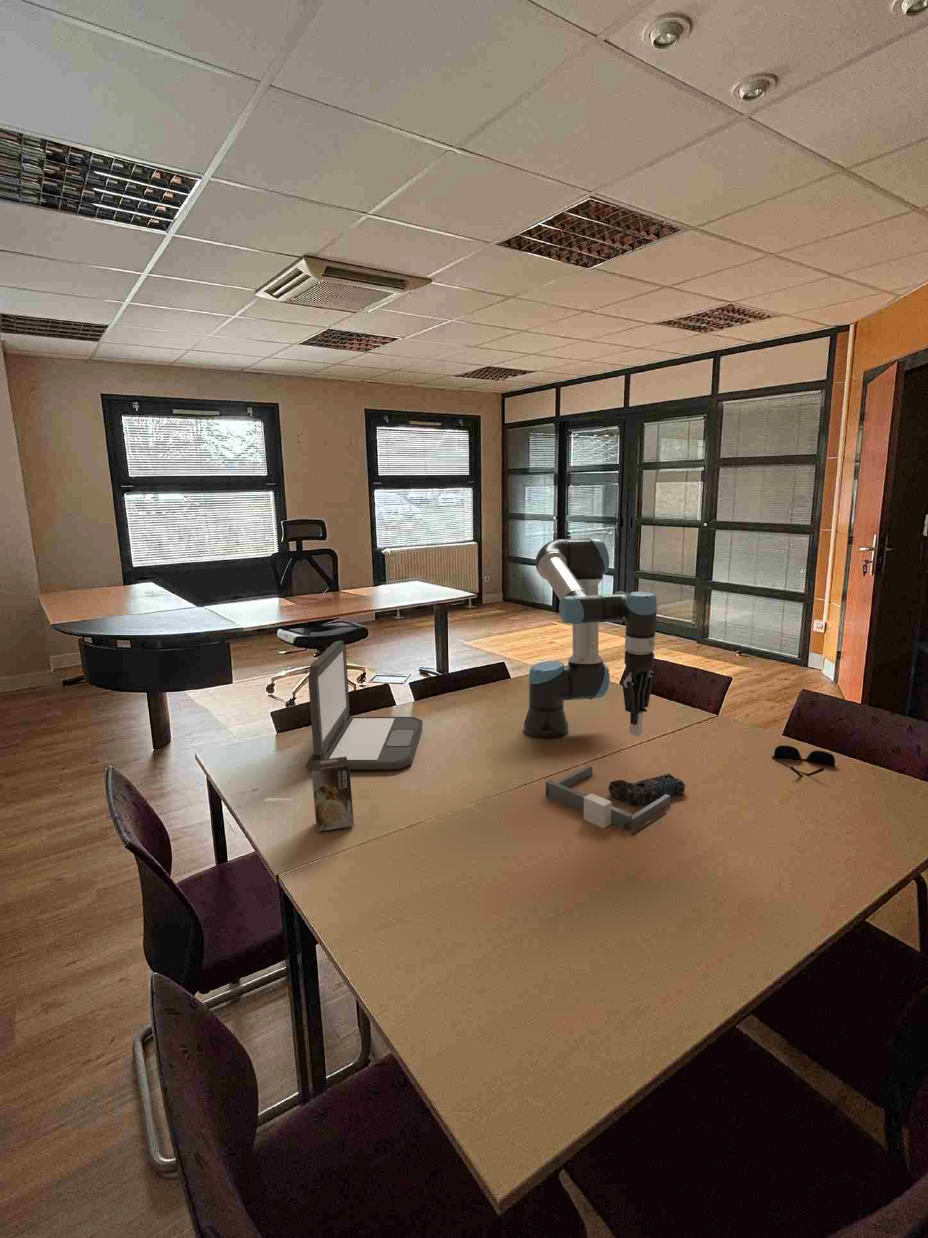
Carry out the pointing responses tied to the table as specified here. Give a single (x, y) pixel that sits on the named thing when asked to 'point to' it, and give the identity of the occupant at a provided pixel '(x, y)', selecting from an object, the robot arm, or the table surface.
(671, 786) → the toy gun
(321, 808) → the coffee box
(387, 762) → the laptop
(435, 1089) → the table surface
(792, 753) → the sunglasses
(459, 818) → the table surface
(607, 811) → the dock
